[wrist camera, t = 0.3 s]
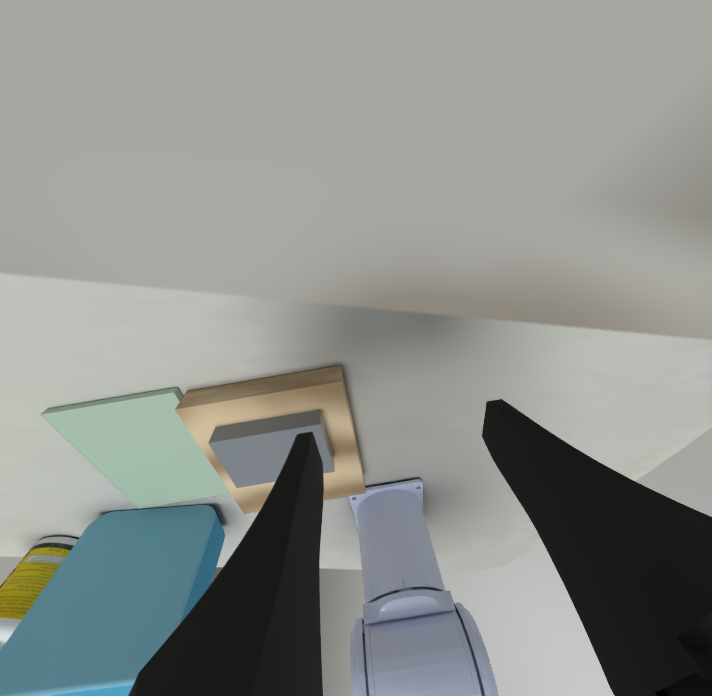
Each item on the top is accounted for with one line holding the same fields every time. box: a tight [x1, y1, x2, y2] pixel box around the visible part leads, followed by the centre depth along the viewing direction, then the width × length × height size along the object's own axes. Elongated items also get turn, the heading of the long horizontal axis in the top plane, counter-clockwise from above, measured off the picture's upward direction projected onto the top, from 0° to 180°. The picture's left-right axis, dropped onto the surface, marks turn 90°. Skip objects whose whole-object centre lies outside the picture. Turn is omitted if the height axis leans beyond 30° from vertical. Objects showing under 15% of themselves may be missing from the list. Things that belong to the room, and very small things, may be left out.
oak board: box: [175, 365, 366, 514], centre depth 24 cm, size 14×12×2 cm
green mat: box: [40, 387, 230, 509], centre depth 24 cm, size 13×10×1 cm
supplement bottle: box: [0, 537, 79, 650], centre depth 26 cm, size 5×5×10 cm
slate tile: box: [208, 409, 335, 488], centre depth 21 cm, size 6×8×2 cm
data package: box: [0, 505, 225, 696], centre depth 24 cm, size 12×4×12 cm, turn 89°
